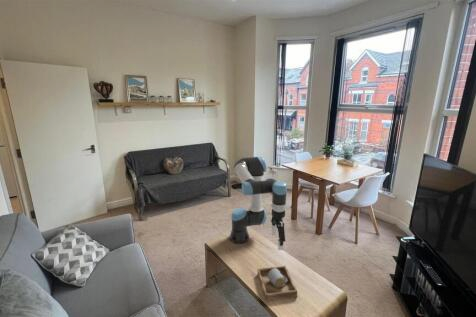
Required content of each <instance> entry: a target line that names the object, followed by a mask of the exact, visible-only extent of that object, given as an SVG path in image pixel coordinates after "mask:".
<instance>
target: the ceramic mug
mask: <svg viewBox="0 0 476 317" xmlns="http://www.w3.org/2000/svg"><path fill="white" fill-rule="evenodd" d="M268 278H269V279H270V281H271V282H272V283H273V285H274V286H275V287H276V288H280V287H282V286H283V285H284V283H286V282H287V278H286V277H285V276H283V275H282V274H281V273H280V271H279V270H278V269H276V268H274V269H272V270H270V272H269V273H268Z"/></svg>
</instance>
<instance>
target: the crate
mask: <svg viewBox="0 0 476 317" xmlns="http://www.w3.org/2000/svg"><path fill="white" fill-rule="evenodd" d="M274 268H276V269H278V270H279V271H280V273H281V274H282V275H283V276H285V277H286V278H287V282H286V283H284V285H283V286H282V287H280V288H276V287H275V286H274V285H273V283H272V282H271V281H270V279H269V278H268V273H269V272H270V270H272V269H274ZM257 277H258V280H259V284H260V288H261V290H262V294H263V297H264V301H265V302H267V301H268V302H270V301H277V300H286V299H292V298H293V299H294V298H298V289H297V287H296V285H295V283H294V280H293V278H292V277H291V275H290V272H289V270H288V268H287V266H286V265H281V266H273V267H272V266H271V267H263V268H262V267H261V268H257Z"/></svg>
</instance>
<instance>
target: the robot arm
mask: <svg viewBox="0 0 476 317" xmlns="http://www.w3.org/2000/svg"><path fill="white" fill-rule="evenodd" d="M233 172H234V174H235V175H236V176H238V179H240V182H241V193H242V194H243V195H244V196H250V206H249V207H248V210H247V209H246V208H243V207H242V208H236V209H234V210H233V211H232V212H231V217H230V218H231V230H230V231H231V232H230V233H229V240H230V241H231V242H232V243H233V244H240V245H241V244H245V243H247V242H248V241H249V240H250V234H249V232H248V227H251V226H253V227H255V226H261V225H264V224H265V223H266V221H267V211H266V210H265V208H264V207H263V201H262V199H263V196H262V195H263V194H264V195H265V194H271V204H270V206H271V219H270V222H271V236H277V233H278V239H277V240H278V241H277V242H278V244H277V245H278V247H277V250H278V251H283V250H284V243H285V242H286V234H285V222H284V221H283V219H284V218H285V217H286V209H287V208H286V207H287V192H288V191H287V190H288V189H287V188H288V187H287V184H286V183H285V182H282V181H278V180H277V179H275V178H274V177H268V178H266V179H265V180H263V177H264V175H265V173H266V172H267V163H266V161H265V158H264V157H263V156H262V157H261V156H251V157H242V158H239V159H238V160H237V161H235V163H234V165H233Z"/></svg>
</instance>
